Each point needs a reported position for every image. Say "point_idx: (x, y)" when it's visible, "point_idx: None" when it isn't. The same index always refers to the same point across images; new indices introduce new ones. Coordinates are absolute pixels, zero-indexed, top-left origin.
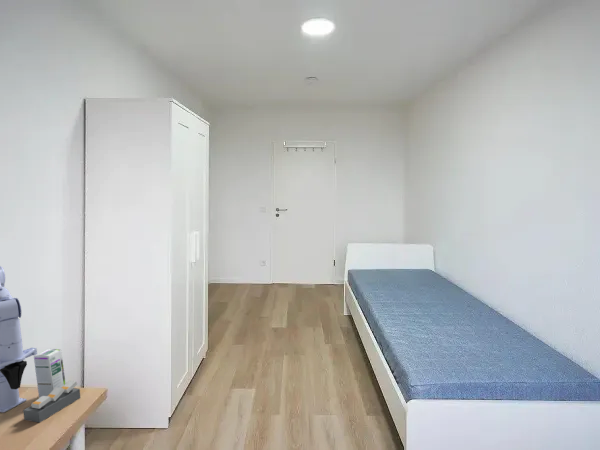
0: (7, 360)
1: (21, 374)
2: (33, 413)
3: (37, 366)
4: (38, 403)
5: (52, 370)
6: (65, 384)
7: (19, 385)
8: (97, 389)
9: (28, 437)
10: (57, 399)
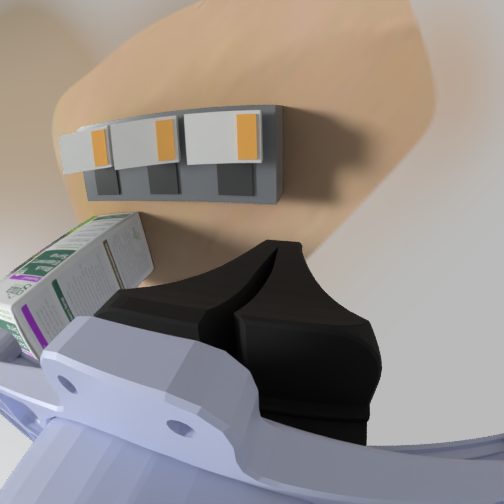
0: None
1: (225, 271)
2: (277, 139)
3: None
4: (250, 120)
5: (57, 262)
6: (84, 167)
7: (269, 244)
8: (56, 124)
9: (384, 60)
10: None
